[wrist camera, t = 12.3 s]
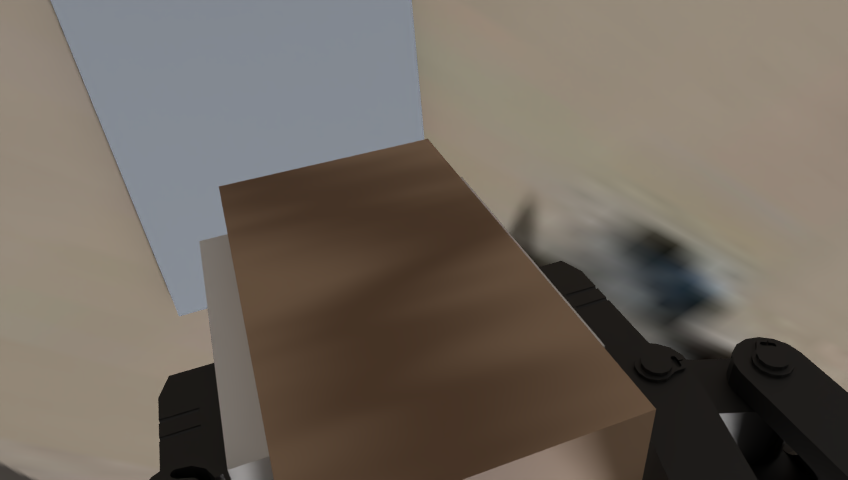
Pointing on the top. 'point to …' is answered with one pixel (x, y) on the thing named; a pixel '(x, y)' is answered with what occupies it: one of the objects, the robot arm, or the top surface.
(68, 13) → the pad
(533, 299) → the walnut block
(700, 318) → the top surface
